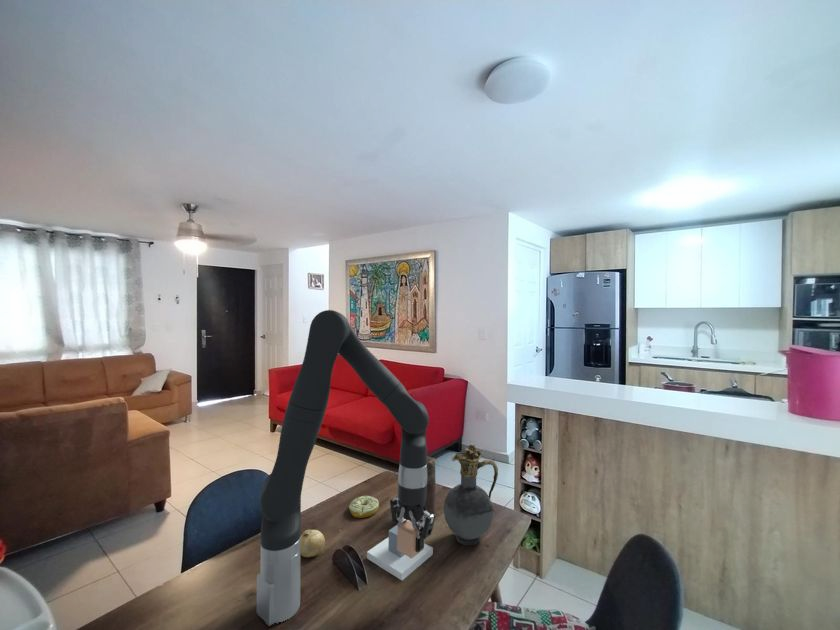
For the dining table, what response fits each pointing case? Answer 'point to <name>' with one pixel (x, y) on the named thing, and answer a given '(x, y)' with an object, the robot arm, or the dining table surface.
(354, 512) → the decorated donut
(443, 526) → the dining table surface
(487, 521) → the pitcher
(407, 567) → the white flat square slab
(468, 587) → the dining table surface
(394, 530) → the slate block
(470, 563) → the dining table surface
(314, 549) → the onion
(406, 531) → the peach block
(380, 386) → the robot arm
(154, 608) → the dining table surface
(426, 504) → the brown cylinder
